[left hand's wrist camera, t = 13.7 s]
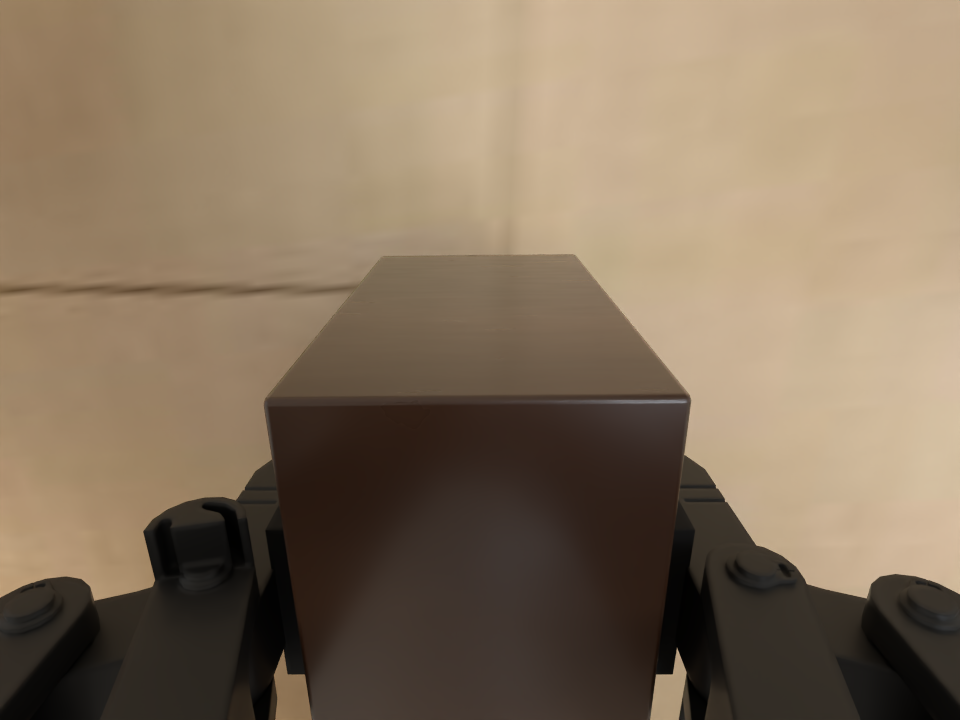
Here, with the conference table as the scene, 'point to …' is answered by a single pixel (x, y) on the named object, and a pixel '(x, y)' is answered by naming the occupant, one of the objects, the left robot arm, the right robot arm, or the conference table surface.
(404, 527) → the rail
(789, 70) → the conference table surface
